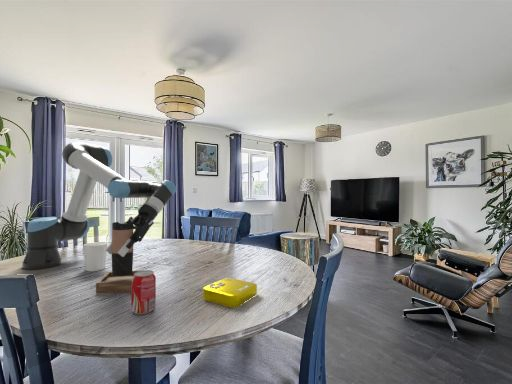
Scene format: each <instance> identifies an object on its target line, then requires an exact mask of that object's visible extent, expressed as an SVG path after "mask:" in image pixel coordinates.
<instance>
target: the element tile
mask: <svg viewBox="0 0 512 384" xmlns="http://www.w3.org/2000/svg"><path fill="white" fill-rule="evenodd" d="M202 291H203V293H202V294H203V295H202V296H203V297H202V300H204V301H207V302H209V303H213V304H216V303H217V305H221V306H223V305H224V307H227V306H228V308H230V307H237V308H239V307H241V306H242V305H244V304H245V303H244V302H245V301H247V300H249V299H250V298H252V297H253V296H255V295H256V294H257V293H258V285H257V284H256V283H254V282H250V281H245V280H241V279H236V278H233V277H232V278H231V277H225V278H222V279H220V280H217V281H215V282H212V283H210V284H208V285H206V286H204V287H203V288H202ZM257 295H258V294H257ZM252 299H253V298H252ZM249 301H250V300H249ZM247 302H248V301H247ZM243 303H244V304H243ZM241 304H242V305H241ZM240 305H241V306H240ZM238 306H239V307H238Z"/></svg>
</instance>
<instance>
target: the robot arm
mask: <svg viewBox="0 0 512 384" xmlns="http://www.w3.org/2000/svg"><path fill="white" fill-rule="evenodd" d="M61 156H62V159H63V161H64V163H66V164H67V165H68V166H70V167H71V168H72V169H75V170H79V174H78V176H77V178H76V179H77V180H76V182H75V185H74V189H73V192H72V194H71V197H70V200H69V203H68V206H67V209H66V211H64V212H63V213H62V214H61V217H60V218H58V217H57V216H47V217H46V216H45V217H40V218H34V219H32V220H29V221H28V224H27V229H26V231H27V251H26V254H25V256H24V259H23V261H22V263H21V264H22V266H21V268H22V269H25V270H39V269H47V268H52V267H57V266H59V265H61V264H62V257H61V254H60V252H59V251H60V250H59V249H58V242H65V241H71V240H73V241H74V240H78V239H82V238H83V237H85V236H86V235H87V234H88V232H89V230H90V227H91V226H90V221H89V219H88V216H87V215H86V214H87V211H88V208H89V206H90V202H91V199H92V196H93V193H94V190H95V187H96V184H97V182H98V183H99V184H101V185H102V186H104V187H105V188H107V191H108V193H109V196H111V197H112V198H114V199H115V198H116V199H132V198H133V199H137V198H138V199H142V198H146V201H145V202H144V203H143V204H142V205H141V206H140V207H139V209H138V210H137V213H138V214H137V215H136V216H135V217H132V216H130V217H129V218H128V219H127V220H126V222H133V235H132V236H131V237H130V238H131V239H128V240H127V242H126V243H125V244H124V245H123V246H122V248H121V249H120V250H119V251H118V254H120V255H121V256H122V257H124V256H125V254H126V253H127V252H128V251H129V249H130V248H131V247H132V246H133V247H134V245H135V244H136V243H138V242H139V243H140V242H141V241H143V239H144V237H145V236H146V235H147V233H148V231H149V230H150V229H151V227H152V226H153V225H154V220H155V219H156V217H157V216H158V214H160V212H162V210H163V208H164V207H165V206H166V205H167V204H168V203H169V201H170V200H171V199H172V198H173V197H174V195H175V194H176V192H177V186H176V185H175V184H174V182H172V181H171V180H167V179H165V180H163V181H162V182H161V183H154V182H152V181H147V180H140V179H139V180H130V179H129V180H128V179H126V178H125V177H123V176H121V175H120V174H119V173H117V172H115V171H114V170H112V169H111V166H112V163H113V155H112V153H111V151H110V150H109V148H107V147H106V146H101V145H98V144H91V143H85V142H81V141H74V142H70V143H68V144H66V145H65V146H64V147H63V149H62V153H61ZM105 250H106V251H107V253H108V254H110V255H112V241H111V242H110V244H109V245H107V248H106V249H105Z"/></svg>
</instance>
